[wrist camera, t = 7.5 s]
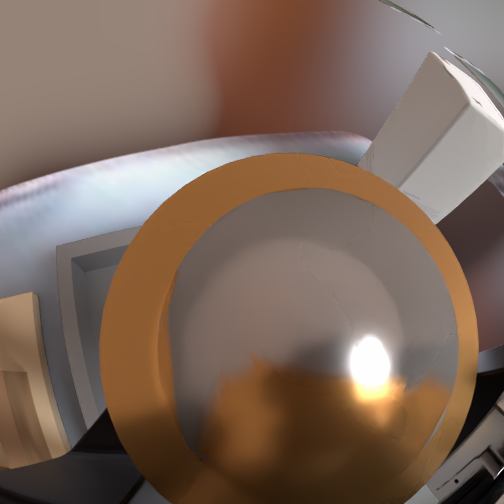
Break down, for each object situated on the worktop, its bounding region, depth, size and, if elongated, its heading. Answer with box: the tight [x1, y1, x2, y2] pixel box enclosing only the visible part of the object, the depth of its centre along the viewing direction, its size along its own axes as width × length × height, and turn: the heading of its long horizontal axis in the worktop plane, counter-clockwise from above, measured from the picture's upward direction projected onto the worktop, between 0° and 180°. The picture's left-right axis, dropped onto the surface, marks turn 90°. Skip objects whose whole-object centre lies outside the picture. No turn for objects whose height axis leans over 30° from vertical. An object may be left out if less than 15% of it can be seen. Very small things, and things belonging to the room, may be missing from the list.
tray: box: [56, 226, 142, 430], centre depth 15 cm, size 17×17×4 cm
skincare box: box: [358, 51, 504, 224], centre depth 18 cm, size 8×6×15 cm
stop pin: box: [99, 153, 478, 504], centre depth 9 cm, size 5×5×13 cm
